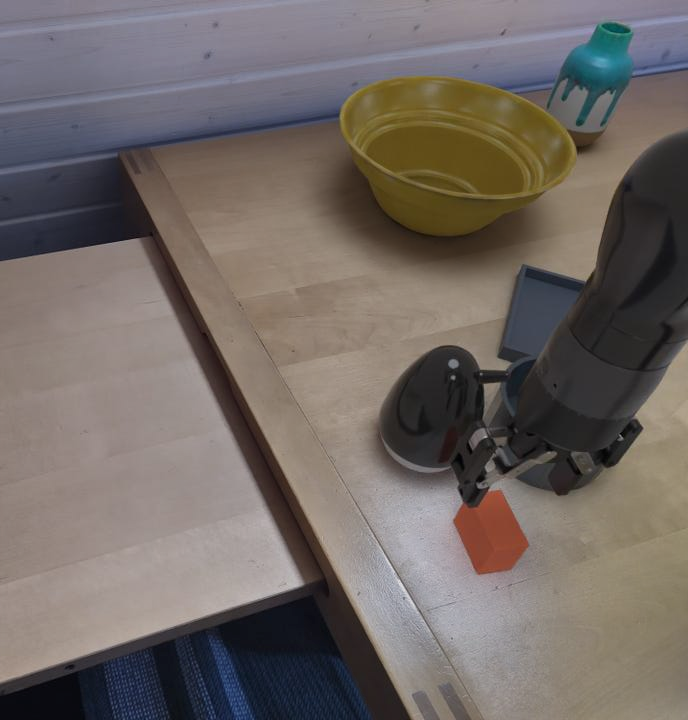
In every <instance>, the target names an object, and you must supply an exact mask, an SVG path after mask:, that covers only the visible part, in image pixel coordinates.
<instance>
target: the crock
mask: <svg viewBox="0 0 688 720" xmlns="http://www.w3.org/2000/svg"><path fill="white" fill-rule="evenodd" d="M538 356H539V355H532V356H528V357H524V358H520V359H519V360H517V361H516V362H512V363H511V364H509V365H508V366H507V368H506V369H505V371H509V372H510V380H509V381H508V382H501V383H496V386H495V388H494V390H493V392H492V394H491V396H490V398H489V400H488V403H487V404H486V406H485V407H484V415H483V420H482V421H484V423H485V425H486V426H487V428H488V429H489V428H501V427H503V425H504V424H505V423H506V422H507V421H508V420H510V419H511V418H512V417H513V416H514V415H515V414H516V409H517V399H518V393H519V390H520V388H521V386H522V384H523V383H524V381H525V379H526V377H527V376H528V374H529V372H530V371H531V369H532V367H533V365H534V363H535V362H536V360H537V358H538ZM609 448H610V446H609ZM503 450H504V453H505V454H506V456H507V458H508V460H509V462H510V464H513V463H515V462H516V461H518V460H517V459H516V457H515V456H514V454H513V452H512V451H511V449H510V448H509V446H508V445H507V444H505V446H504V448H503ZM555 465H556V463H544V464H539V465H536V466H533V467H531V468H530V469H528V470H526V471H525V472H523V473H521V474H520V475H518V476H516V477H515V478H516V479H517V480H519V481H521V482H523V483H525V484H527V485H529V486H533V487H535V488H538V489H542V490H547V491H552V492H553V491H554V490H553V488H552V486H551V484H550V483H549V481H548V474H549V473H550V471H551V470H552V469H553V467H554V466H555ZM595 467H596V469H595V471H593V472H592V473H589V474H585V475H583V477H582V478H581V479H580V480H579V482H578V483H577V484H576V485H575V486H574V487H573V488H572V489H571V490H570V491H575V490H579V489H582V488H584V487H587V486H588V485H590V484H591V483H592V482H593V481H595V479H596V478H597V477H598V476H600V475H601V474H602V472H603V471H604V470H605V469H606V468H605V467H604V466H603V464H600V465H597V466H595ZM515 478H514V479H515ZM554 492H555V491H554Z"/></svg>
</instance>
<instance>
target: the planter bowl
mask: <svg viewBox="0 0 688 720" xmlns="http://www.w3.org/2000/svg"><path fill="white" fill-rule="evenodd" d="M338 123H339V124H338V125H339V129H340V131H341V134H342V136H343V137H344V139H345V141H346V142H347V143H348V147H349V151H350V154H351V158H352V160H353V162H354V164H355V165H356V167H357V168H358V170H359V171H360V172H361V173H362V175H363V176H364V177H365V178H367V180H368V183H369V186H370V189H371V191H372V193H373V195H374V198H375V200H376V202H377V203H378V205H379V207H380V208H381V209H382V211H384V213H385V214H386V215H387V216H389V217H390V219H392V220H393V221H395V222H397V223H398V224H399V225H401V226H403V227H405V228H407V229H408V230H411V231H412V232H415V233H419V234H421V235H422V234H423V235H426V236H432V237H456V236H464V235H468V234H472V233H474V232H477V231H479V230H481V229H482V228H484V227H486V226H488V225H489V224H491V223H492V222H494V221H496V220H497V219H498V218H500V217H501V216H502V215H504V214H507V213H511V212H514V211H517V210H520V209H522V208H525V207H526V206H528V205H530V204H532V203H533V202H535V201H536V200H537V199H539V198H540V197H542V196H543V195H544V194H545V193H546V192H547V191H549V190H552V189H553V188H555V187H557V186H559V185H560V184H562V183H563V182H565V181H566V180H567V178H569V177H570V175H571V174H572V173H573V171H574V169H575V167H576V165H577V157H578V154H577V147H575V144H574V142H573V139H572V138H571V136H570V135H569V133H568V132H567V130H566V129H565V128H564V127H563V126H562V124H561V123H560V122H559V121H557V120H556V119H555V118H554V117H553V116H552V115H550V114H549V113H547V112H546V111H545V109H543V108H542V107H540V106H538V105H537V104H535V103H533V102H532V101H530V100H528V99H526V98H524V97H521V96H519V95H517V94H514V93H512V92H510V91H508V90H504V89H502V88H500V87H497V86H492V85H490V84H486V83H482V82H477V81H473V80H470V79H469V80H468V79H464V78H459V77H458V78H457V77H451V76H450V77H449V76H439V75H411V76H409V75H407V76H399V77H392V78H388V79H383V80H380V81H376V82H372V83H371V84H368V85H366V86H363V87H361V88H359V89H357V90H356V91H354V92H353V93H352V94H351V95H350V96H349V97H347V98H346V100H345V101H344V103H343V104H342V106H341V108H340V111H339V117H338Z"/></svg>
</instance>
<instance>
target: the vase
mask: <svg viewBox="0 0 688 720" xmlns="http://www.w3.org/2000/svg"><path fill="white" fill-rule="evenodd" d="M634 34H635V29H634V28H633V27H632V26H631V25H629V24H628V23H625V22H622V21H617V20H610V19H609V20H608V19H607V20H602V21H600V22H598V23H597V25H596V27H595V28H594V31H593V32H592V35H591V36H590V39H589V40H588V41H587V42H585V43H581V44H579V45H577V46H575V47H574V48H573V49H571V51H570V52H569V53H568V54H567V57H566V58H565V60H564V61H563V63H562V66H561V67H560V70H559V71H558V73H557V76H556V79H555V81H554V82H553V85H552V88H551V91H550V93H549V96H548V99H547V102H546V105H545V108H544V110H545V111H546V112H547V113H549V114H550V115H552V116H553V117H554V118H555V119H556V120H557V121H559V122H560V123H561V124H562V126H563V127H564V128H565V129H566V130H567V132H568V133H569V135H570V136H571V138H572V139H573V142H574V144H575V147H576V148H578V147H579V148H580V147H584V146H588V145H591V144H592V143H594V142H596V141H597V140H598V139H599V138H600V137H601V136H602V135H603V134H604V132H605V131H606V130H607V128H608V127H609V125H610V123H611V122H612V120H613V118H614V116H615V114H616V112H617V111H618V109H619V106H620V104H621V103H622V101H623V98H624V96H625V94H626V91H627V90H628V87H629V85H630V82H631V80H632V77H633V73H634V68H635V62H634V58H633V57H632V55H631V54H630V53H629V51H628V50H629V47H630V44H631V41H632V40H633V37H634Z"/></svg>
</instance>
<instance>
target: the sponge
mask: <svg viewBox="0 0 688 720" xmlns="http://www.w3.org/2000/svg"><path fill="white" fill-rule="evenodd" d="M453 523H454V525H455V527H456V530H457V532H458V534H459V536H460V539H461V541H462V543H463V545H464V548H465V550H466V552H467V555H468V557H469V559H470V561H471V564H472V565H473V568H474V570H475V573H476V574H477V575H484V574H490V573H497V572H504V571H510V570H512V568H513V567H514V566H515V565H516V564H517V562H518V561H519V559H521V557H522V555H523V554H524V553H525V552H526V550H527V549H528V548H529V546H530V544H529V541H528V539H527V538H526V535H525V533H524V532H523V530H522V528H521V525H520V523H519V522H518V520H517V517H516V516H515V514H514V512H513V510H512V508H511V506H510V504H509V502H508V500H507V498H506V496H505V494H504V492H503V490H502V489H496V490H490V491H489V490H488V492H487V493H486V495H485V496H484V498H483V500H482V501H481V503H480V504H479V506H478V507H475V508H468V507H467V505H466V503H465V504H464V503H463V502H462V504H461V505H460V507H459V509H458V510H457V512H456V514H455V516H454V518H453Z"/></svg>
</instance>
